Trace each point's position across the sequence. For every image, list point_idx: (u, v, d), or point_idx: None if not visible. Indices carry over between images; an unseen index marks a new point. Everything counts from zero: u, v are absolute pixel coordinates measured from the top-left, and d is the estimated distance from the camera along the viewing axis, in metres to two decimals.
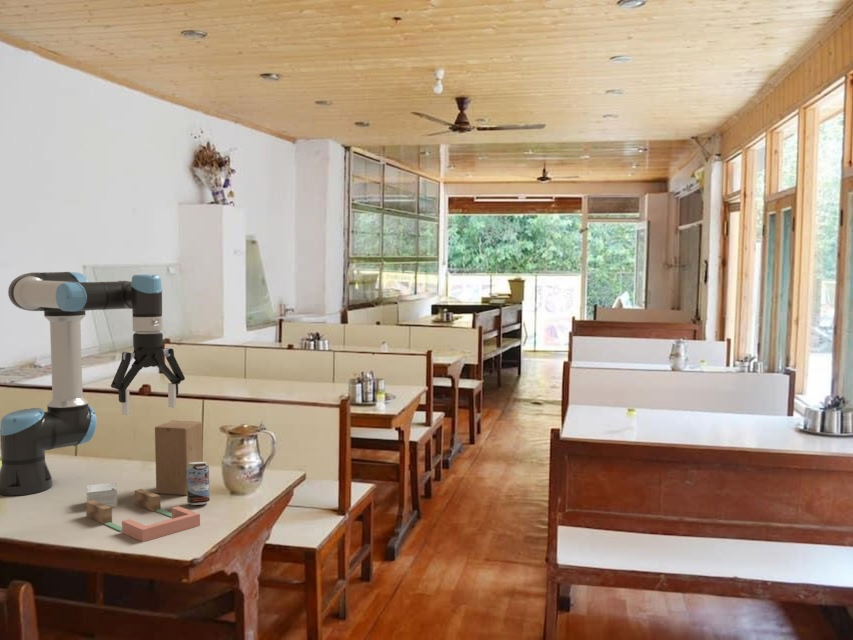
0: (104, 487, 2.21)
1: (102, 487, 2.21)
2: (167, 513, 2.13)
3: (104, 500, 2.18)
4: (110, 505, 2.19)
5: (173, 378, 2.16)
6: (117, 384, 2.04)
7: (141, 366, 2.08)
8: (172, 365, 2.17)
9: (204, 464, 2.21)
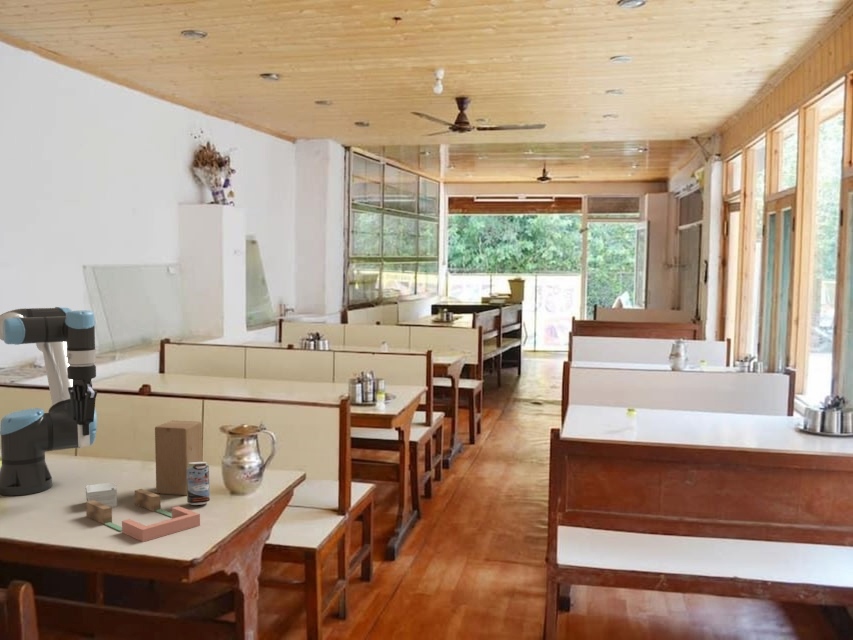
0: (104, 487, 2.21)
1: (101, 487, 2.21)
2: (167, 513, 2.13)
3: (104, 500, 2.18)
4: (110, 505, 2.19)
5: (80, 417, 2.25)
6: (73, 416, 2.28)
7: (74, 397, 2.25)
8: None
9: (204, 464, 2.21)
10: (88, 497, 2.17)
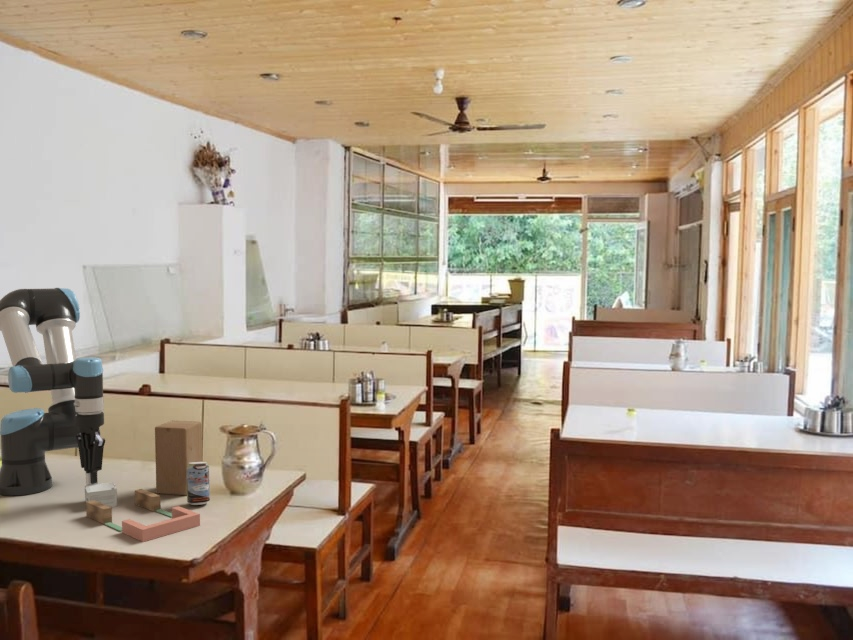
0: (103, 487, 2.21)
1: (101, 487, 2.21)
2: (167, 513, 2.13)
3: (104, 500, 2.18)
4: (110, 505, 2.19)
5: (88, 465, 2.23)
6: (81, 464, 2.26)
7: (82, 445, 2.24)
8: None
9: (204, 464, 2.21)
10: (88, 497, 2.16)
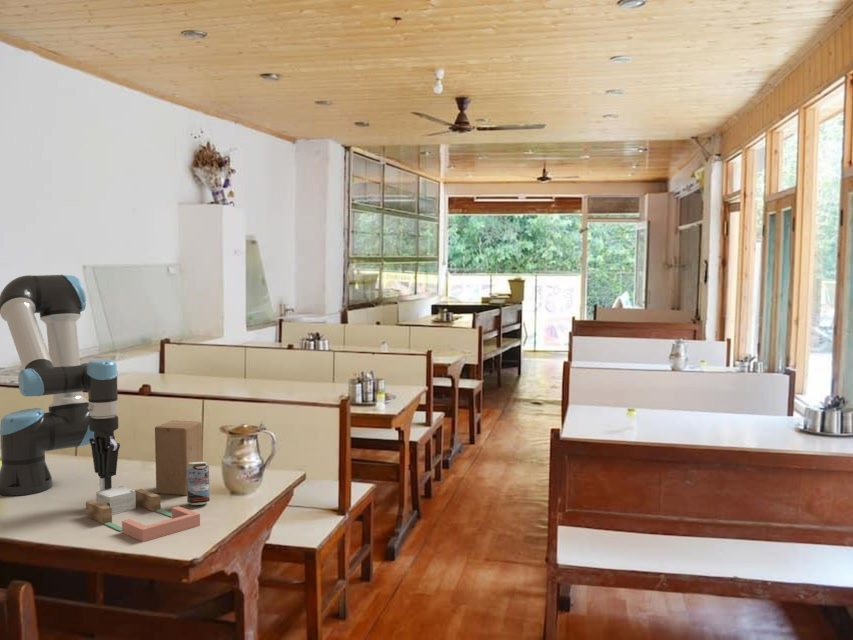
0: (119, 491, 2.17)
1: (117, 491, 2.17)
2: (167, 513, 2.13)
3: (125, 503, 2.15)
4: (129, 508, 2.16)
5: (102, 470, 2.18)
6: None
7: (96, 449, 2.18)
8: None
9: (204, 464, 2.21)
10: (110, 502, 2.12)
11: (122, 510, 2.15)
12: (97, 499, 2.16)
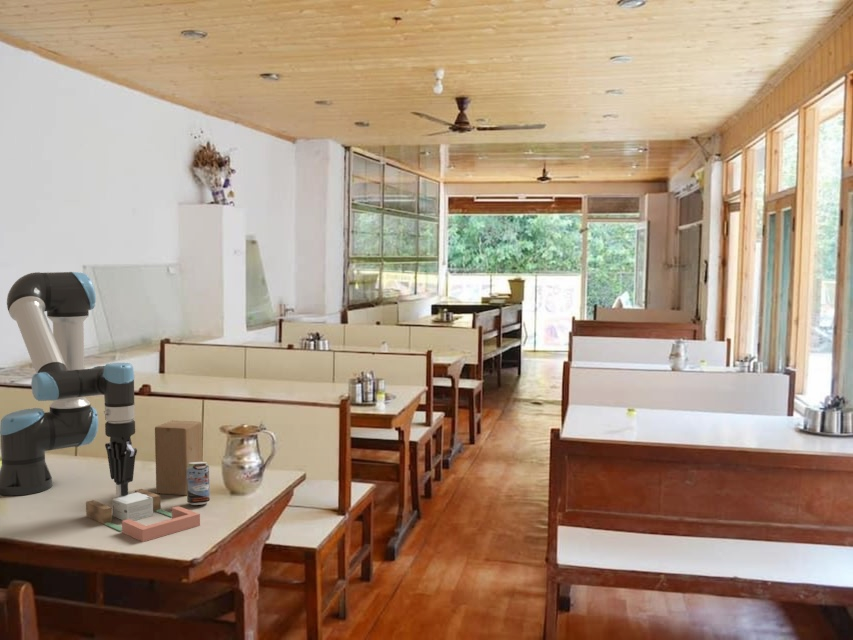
0: (136, 497, 2.11)
1: (134, 497, 2.11)
2: (167, 513, 2.13)
3: (142, 510, 2.09)
4: (147, 515, 2.11)
5: (119, 476, 2.12)
6: (110, 475, 2.15)
7: (112, 455, 2.13)
8: None
9: (204, 464, 2.21)
10: (127, 508, 2.06)
11: (139, 517, 2.09)
12: (113, 506, 2.10)
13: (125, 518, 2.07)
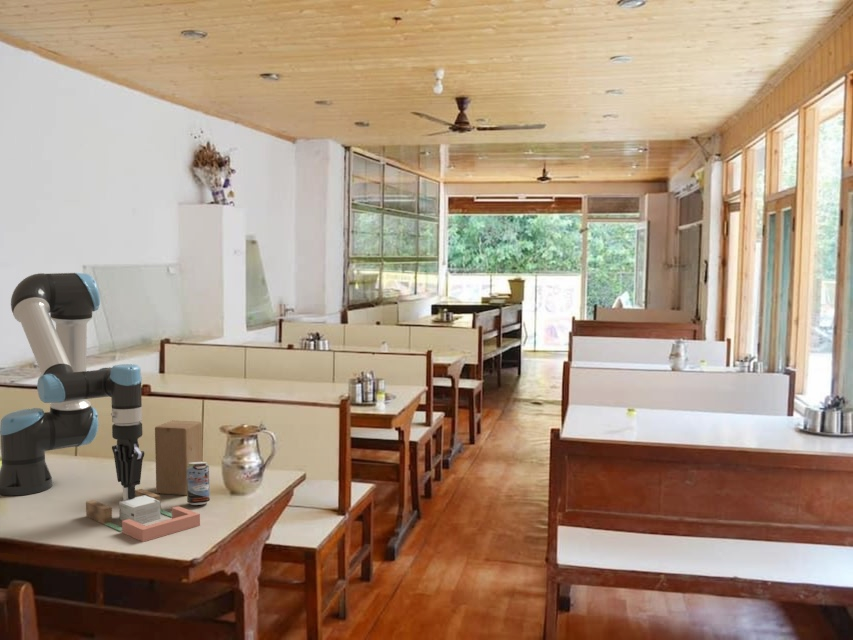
0: (143, 500, 2.09)
1: (141, 501, 2.09)
2: (167, 513, 2.13)
3: (149, 513, 2.07)
4: (154, 518, 2.08)
5: (126, 479, 2.10)
6: (117, 478, 2.12)
7: (119, 457, 2.10)
8: None
9: (204, 464, 2.21)
10: (134, 512, 2.04)
11: (146, 521, 2.06)
12: (120, 509, 2.08)
13: None
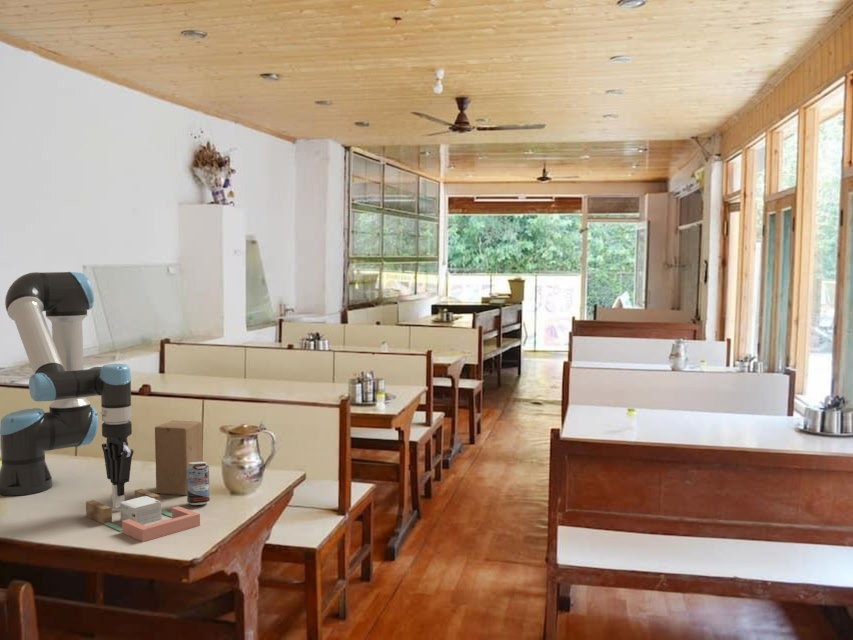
0: (144, 501, 2.08)
1: (142, 501, 2.08)
2: (167, 513, 2.13)
3: (150, 514, 2.06)
4: (155, 519, 2.08)
5: (115, 477, 2.13)
6: (107, 475, 2.16)
7: (109, 455, 2.14)
8: None
9: (204, 464, 2.21)
10: (135, 513, 2.03)
11: (147, 521, 2.06)
12: (121, 510, 2.08)
13: None
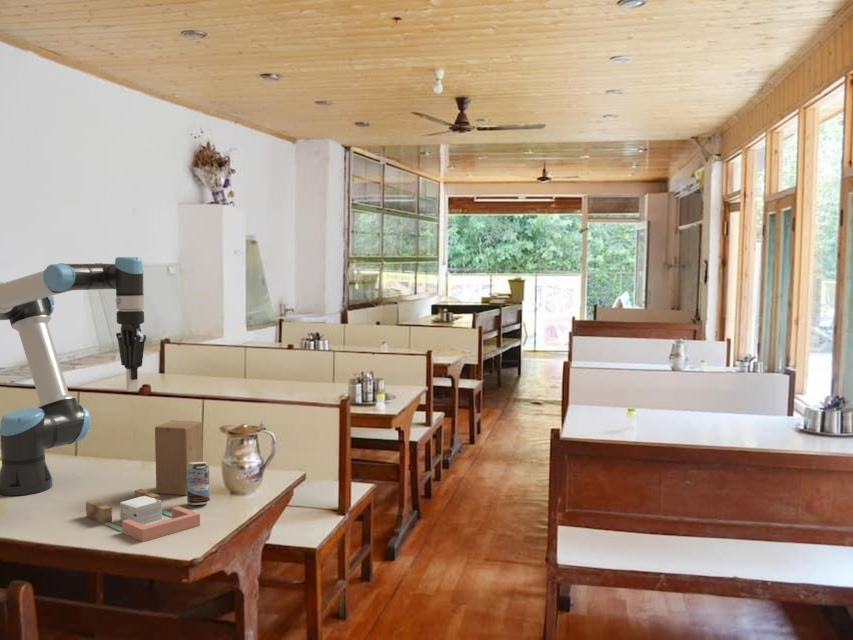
0: (144, 501, 2.09)
1: (142, 501, 2.08)
2: (167, 513, 2.13)
3: (151, 513, 2.07)
4: (156, 518, 2.08)
5: (129, 361, 2.29)
6: (121, 361, 2.32)
7: (123, 342, 2.29)
8: None
9: (204, 464, 2.21)
10: (137, 512, 2.04)
11: (148, 521, 2.06)
12: (121, 510, 2.07)
13: None
